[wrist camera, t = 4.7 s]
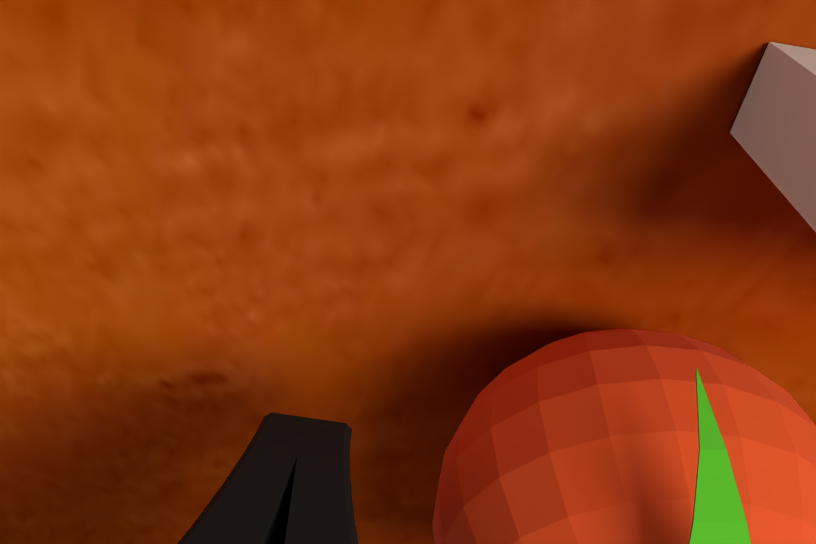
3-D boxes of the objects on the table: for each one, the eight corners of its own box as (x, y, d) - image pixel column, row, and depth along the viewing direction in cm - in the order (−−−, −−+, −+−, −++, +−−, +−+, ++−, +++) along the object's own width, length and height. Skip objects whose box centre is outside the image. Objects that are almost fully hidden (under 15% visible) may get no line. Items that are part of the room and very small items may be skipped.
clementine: (428, 206, 12) (402, 556, 7) (824, 197, 12) (1183, 571, 6) (441, 491, 17) (433, 852, 11) (731, 493, 16) (885, 878, 10)
